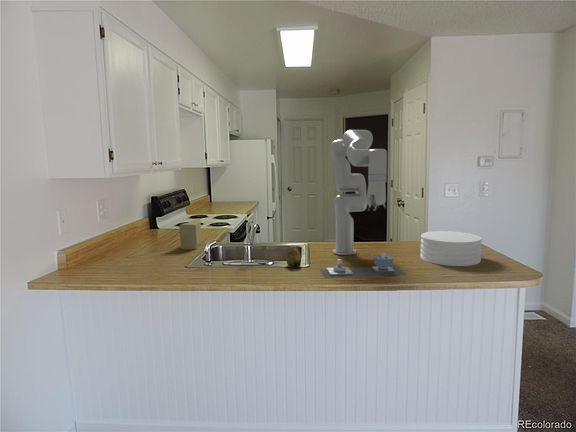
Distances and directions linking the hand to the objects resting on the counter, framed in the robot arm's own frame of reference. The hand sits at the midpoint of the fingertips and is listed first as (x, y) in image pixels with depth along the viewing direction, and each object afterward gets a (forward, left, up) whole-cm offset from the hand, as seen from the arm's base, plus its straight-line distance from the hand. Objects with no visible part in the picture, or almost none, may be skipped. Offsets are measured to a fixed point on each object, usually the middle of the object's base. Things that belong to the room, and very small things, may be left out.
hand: (377, 218), depth 171 cm
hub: (-5, -15, -25) cm, 29 cm away
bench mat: (-4, -5, -25) cm, 26 cm away
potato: (-20, -34, -25) cm, 47 cm away
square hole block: (-5, +5, -22) cm, 23 cm away
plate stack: (-22, +45, -25) cm, 56 cm away
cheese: (-74, -88, -25) cm, 118 cm away
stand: (-5, +5, -25) cm, 25 cm away
